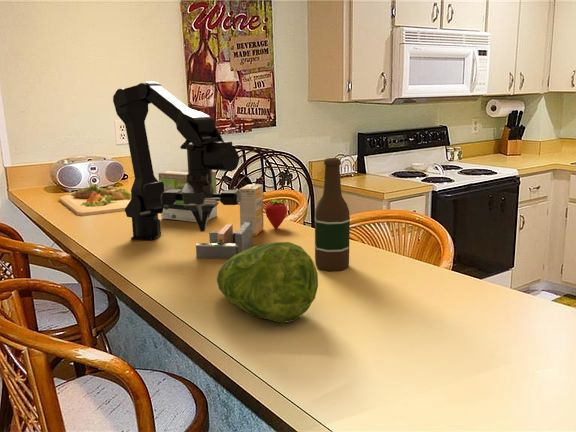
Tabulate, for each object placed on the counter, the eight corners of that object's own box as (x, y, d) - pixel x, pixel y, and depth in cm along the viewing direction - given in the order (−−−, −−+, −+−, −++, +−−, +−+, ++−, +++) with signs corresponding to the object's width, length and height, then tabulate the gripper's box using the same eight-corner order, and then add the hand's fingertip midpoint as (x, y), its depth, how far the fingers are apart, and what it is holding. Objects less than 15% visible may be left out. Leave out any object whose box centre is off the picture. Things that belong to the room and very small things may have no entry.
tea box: (160, 219, 170) (156, 172, 166) (178, 213, 179) (175, 168, 176) (202, 223, 164) (199, 174, 161) (218, 216, 173) (216, 170, 170)
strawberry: (279, 224, 161) (278, 191, 159) (291, 229, 155) (291, 195, 153) (261, 227, 159) (260, 193, 156) (272, 232, 152) (272, 197, 150)
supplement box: (257, 236, 148) (255, 188, 145) (240, 236, 149) (238, 188, 146) (264, 229, 156) (263, 183, 153) (248, 228, 157) (246, 183, 154)
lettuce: (253, 307, 111) (251, 241, 111) (332, 319, 92) (329, 240, 93) (191, 315, 102) (189, 244, 102) (264, 330, 84) (261, 243, 84)
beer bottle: (326, 274, 117) (326, 161, 111) (308, 264, 123) (307, 158, 118) (356, 268, 120) (358, 159, 115) (337, 259, 127) (338, 155, 122)
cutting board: (150, 209, 188) (149, 187, 187) (79, 218, 176) (77, 195, 174) (121, 194, 217) (119, 175, 215) (58, 201, 205) (56, 181, 203)
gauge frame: (196, 258, 129) (195, 233, 128) (211, 242, 143) (210, 220, 141) (242, 259, 128) (241, 234, 127) (252, 243, 142) (252, 220, 140)
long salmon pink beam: (215, 257, 128) (214, 236, 127) (227, 242, 140) (226, 223, 139) (222, 257, 128) (221, 236, 127) (233, 243, 140) (232, 224, 139)
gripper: (150, 173, 125) (154, 239, 128) (230, 173, 123) (233, 240, 126) (166, 166, 136) (170, 227, 139) (240, 166, 133) (242, 229, 137)
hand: (202, 231), depth 135 cm, fingers closed
